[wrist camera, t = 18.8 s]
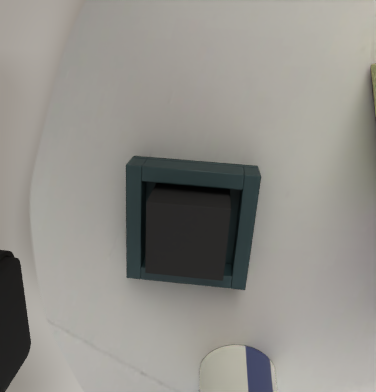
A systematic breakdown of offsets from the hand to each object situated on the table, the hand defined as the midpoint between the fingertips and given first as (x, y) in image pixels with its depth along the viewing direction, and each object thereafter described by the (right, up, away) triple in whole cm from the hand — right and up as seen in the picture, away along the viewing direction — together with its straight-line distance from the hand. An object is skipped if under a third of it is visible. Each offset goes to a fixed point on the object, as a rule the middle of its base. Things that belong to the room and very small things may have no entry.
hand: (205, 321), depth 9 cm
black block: (0, +1, +21) cm, 21 cm away
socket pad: (0, +1, +22) cm, 22 cm away
